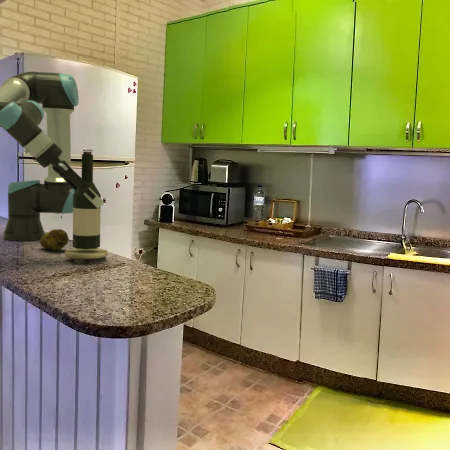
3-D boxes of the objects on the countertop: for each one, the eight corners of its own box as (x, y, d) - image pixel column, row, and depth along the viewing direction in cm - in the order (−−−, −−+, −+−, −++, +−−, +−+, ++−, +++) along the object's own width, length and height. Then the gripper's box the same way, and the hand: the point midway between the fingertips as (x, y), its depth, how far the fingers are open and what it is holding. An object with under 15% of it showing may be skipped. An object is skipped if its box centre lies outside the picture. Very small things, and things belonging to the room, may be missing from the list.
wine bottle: (87, 243, 151) (88, 152, 148) (105, 247, 147) (107, 152, 144) (66, 246, 144) (67, 150, 141) (85, 250, 140) (86, 151, 136)
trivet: (65, 257, 150) (65, 248, 150) (105, 256, 154) (105, 247, 154) (64, 265, 138) (64, 255, 138) (109, 264, 142) (109, 254, 142)
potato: (62, 247, 168) (62, 225, 167) (70, 253, 157) (70, 230, 156) (38, 248, 164) (38, 226, 163) (45, 254, 153) (44, 230, 152)
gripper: (30, 158, 144) (82, 209, 154) (38, 158, 126) (97, 216, 136) (48, 142, 146) (98, 194, 156) (59, 140, 128) (115, 198, 138)
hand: (97, 204), depth 146 cm, fingers closed on wine bottle, 8 cm apart
